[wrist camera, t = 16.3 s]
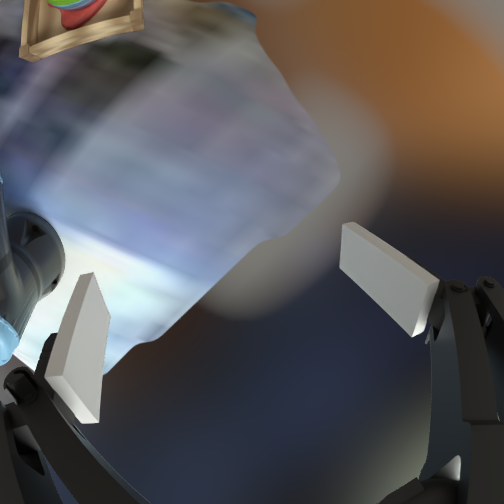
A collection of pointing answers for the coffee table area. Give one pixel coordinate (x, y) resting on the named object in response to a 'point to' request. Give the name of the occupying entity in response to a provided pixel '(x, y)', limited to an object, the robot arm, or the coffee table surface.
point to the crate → (58, 38)
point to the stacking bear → (76, 11)
